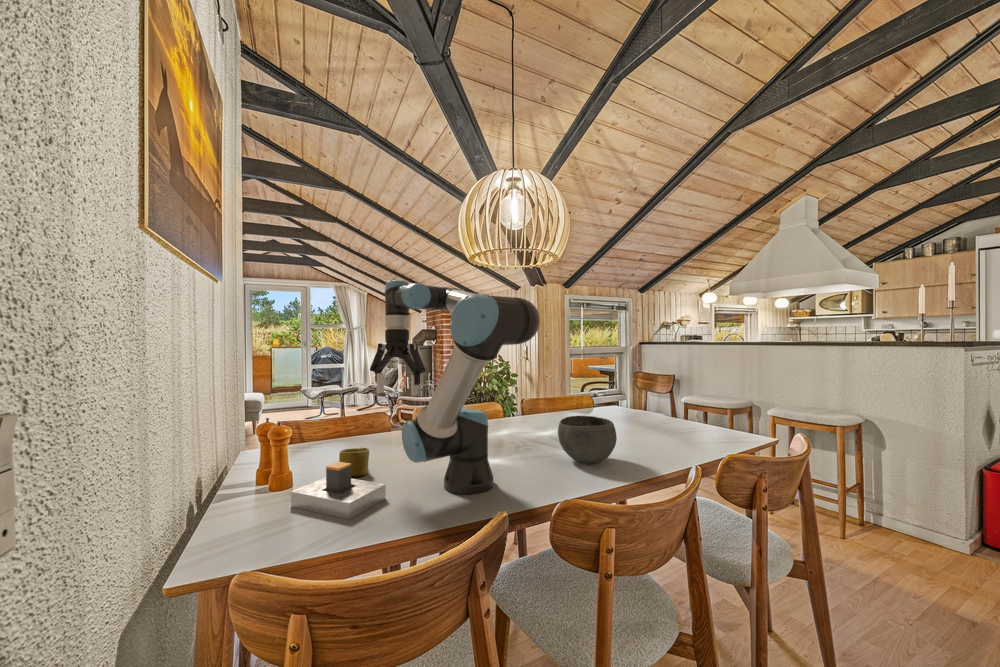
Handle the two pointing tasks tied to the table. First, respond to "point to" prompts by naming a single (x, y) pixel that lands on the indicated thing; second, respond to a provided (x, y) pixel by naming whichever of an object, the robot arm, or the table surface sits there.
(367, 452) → the mug
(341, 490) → the plug
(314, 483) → the socket plate
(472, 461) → the robot arm
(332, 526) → the table surface
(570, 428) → the bowl
